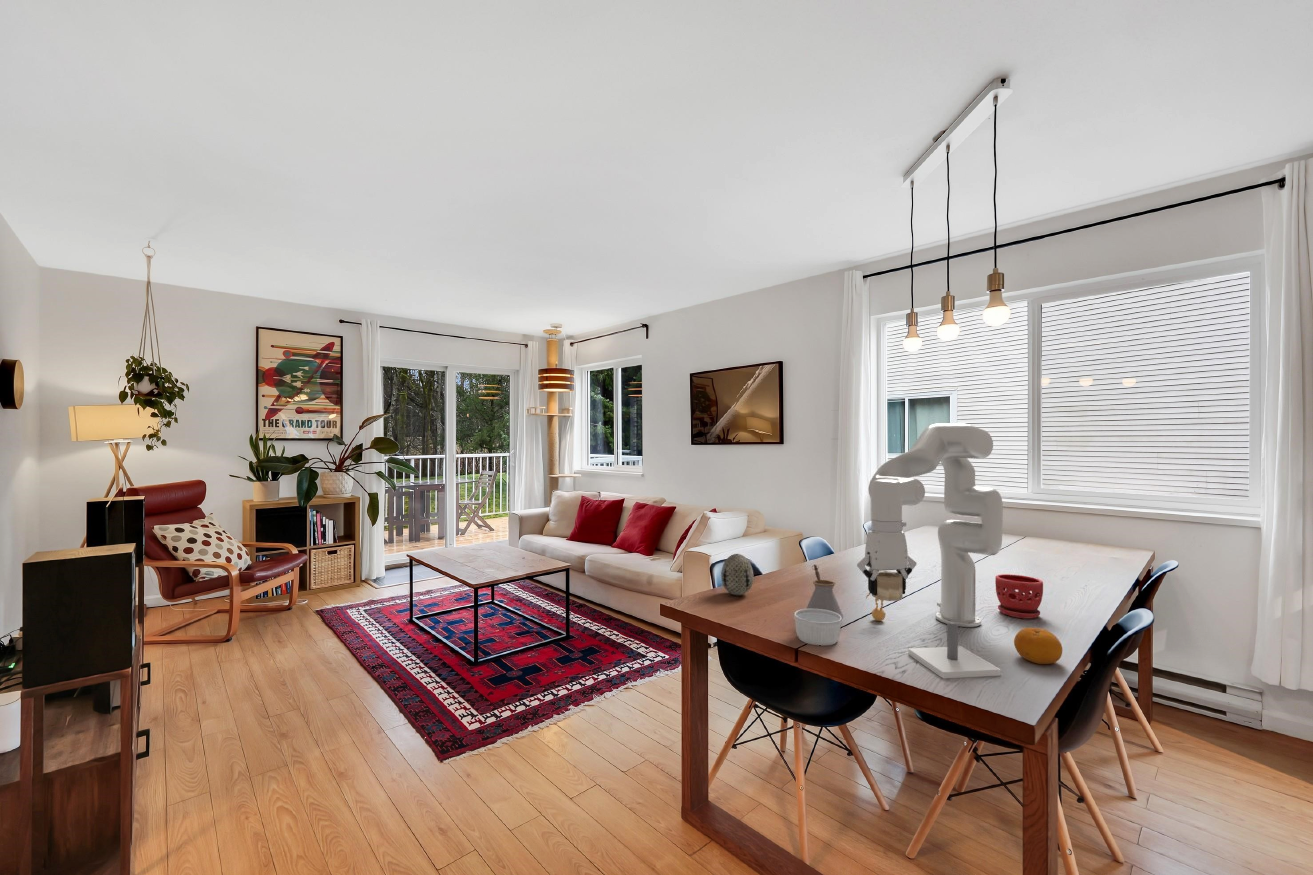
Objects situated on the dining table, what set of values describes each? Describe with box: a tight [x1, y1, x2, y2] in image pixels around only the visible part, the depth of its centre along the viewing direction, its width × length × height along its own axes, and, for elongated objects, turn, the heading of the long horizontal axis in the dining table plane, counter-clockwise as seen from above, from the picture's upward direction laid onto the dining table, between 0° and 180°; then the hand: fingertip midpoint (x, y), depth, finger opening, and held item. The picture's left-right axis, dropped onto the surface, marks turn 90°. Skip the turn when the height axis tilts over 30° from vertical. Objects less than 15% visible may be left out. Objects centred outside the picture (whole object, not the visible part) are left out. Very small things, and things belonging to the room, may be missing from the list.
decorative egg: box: [720, 553, 755, 596], centre depth 205 cm, size 12×12×15 cm
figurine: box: [865, 592, 886, 622], centre depth 175 cm, size 8×6×12 cm
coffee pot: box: [805, 564, 844, 620], centre depth 178 cm, size 21×12×15 cm, turn 174°
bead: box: [871, 570, 904, 602], centre depth 148 cm, size 7×7×6 cm
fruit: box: [1013, 627, 1063, 665], centre depth 145 cm, size 10×10×8 cm
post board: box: [907, 622, 1002, 679], centre depth 143 cm, size 15×15×10 cm
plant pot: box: [994, 573, 1044, 620], centre depth 183 cm, size 13×13×12 cm
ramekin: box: [793, 608, 843, 647], centre depth 160 cm, size 13×13×7 cm
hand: (887, 592), depth 148 cm, fingers closed on bead, 7 cm apart
